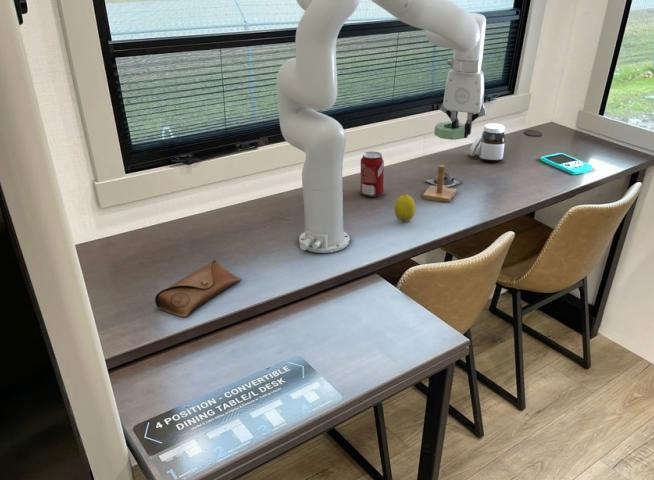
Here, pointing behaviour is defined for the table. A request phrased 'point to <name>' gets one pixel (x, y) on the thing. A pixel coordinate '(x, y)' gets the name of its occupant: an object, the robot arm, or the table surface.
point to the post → (439, 189)
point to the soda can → (372, 174)
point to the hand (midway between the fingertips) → (460, 135)
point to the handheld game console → (567, 163)
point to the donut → (447, 181)
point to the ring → (449, 131)
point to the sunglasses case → (195, 290)
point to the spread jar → (490, 143)
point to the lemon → (405, 207)
